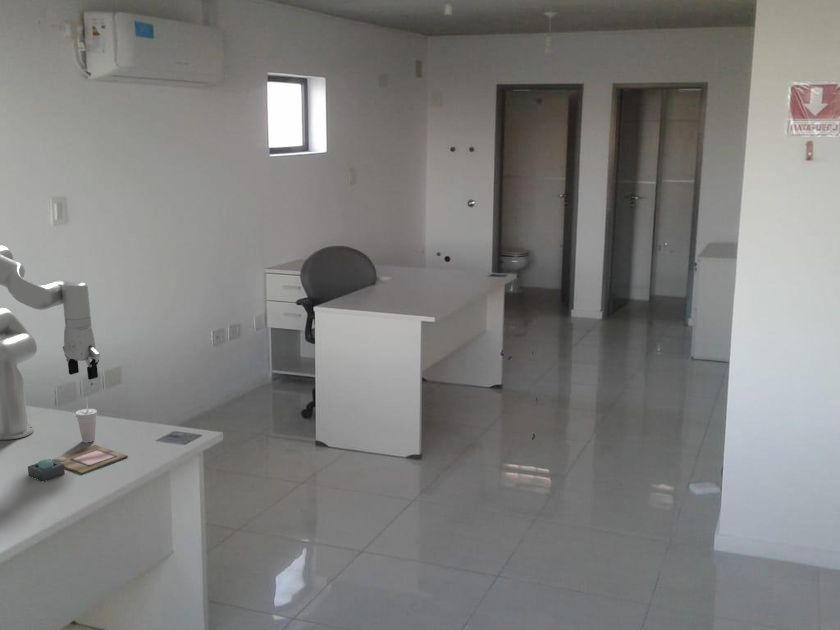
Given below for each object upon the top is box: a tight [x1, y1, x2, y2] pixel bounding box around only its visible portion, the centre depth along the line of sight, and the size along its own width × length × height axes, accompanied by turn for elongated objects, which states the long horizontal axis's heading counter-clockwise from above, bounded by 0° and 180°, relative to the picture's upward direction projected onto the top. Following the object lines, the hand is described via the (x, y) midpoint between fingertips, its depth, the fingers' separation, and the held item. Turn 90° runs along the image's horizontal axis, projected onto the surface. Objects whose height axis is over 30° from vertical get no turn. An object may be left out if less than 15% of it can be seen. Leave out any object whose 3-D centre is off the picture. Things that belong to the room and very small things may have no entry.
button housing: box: [27, 458, 66, 482], centre depth 268 cm, size 7×7×3 cm
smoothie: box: [75, 398, 98, 444], centre depth 294 cm, size 6×6×14 cm
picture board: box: [51, 444, 129, 475], centre depth 279 cm, size 16×16×1 cm
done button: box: [37, 458, 53, 470], centre depth 268 cm, size 4×4×3 cm
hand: (83, 376), depth 290 cm, fingers open, 9 cm apart
